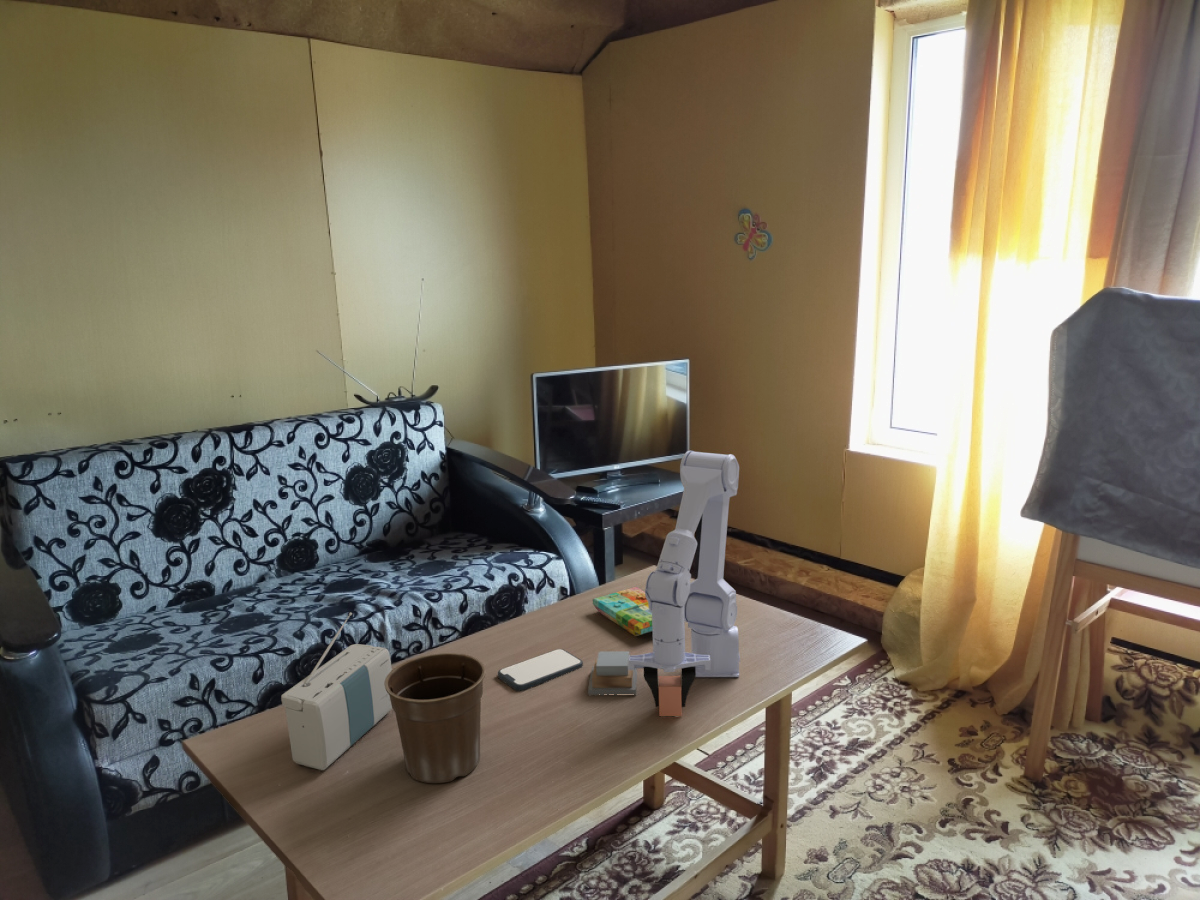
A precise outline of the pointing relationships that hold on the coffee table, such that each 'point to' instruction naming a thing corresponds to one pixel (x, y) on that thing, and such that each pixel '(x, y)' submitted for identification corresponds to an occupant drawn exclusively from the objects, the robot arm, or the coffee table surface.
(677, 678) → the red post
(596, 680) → the tower middle slab
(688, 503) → the robot arm
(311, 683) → the stereo radio cassette player
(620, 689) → the tower base slab
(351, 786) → the coffee table surface
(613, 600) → the puzzle game
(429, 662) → the plant pot
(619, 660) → the tower top slab
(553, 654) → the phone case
